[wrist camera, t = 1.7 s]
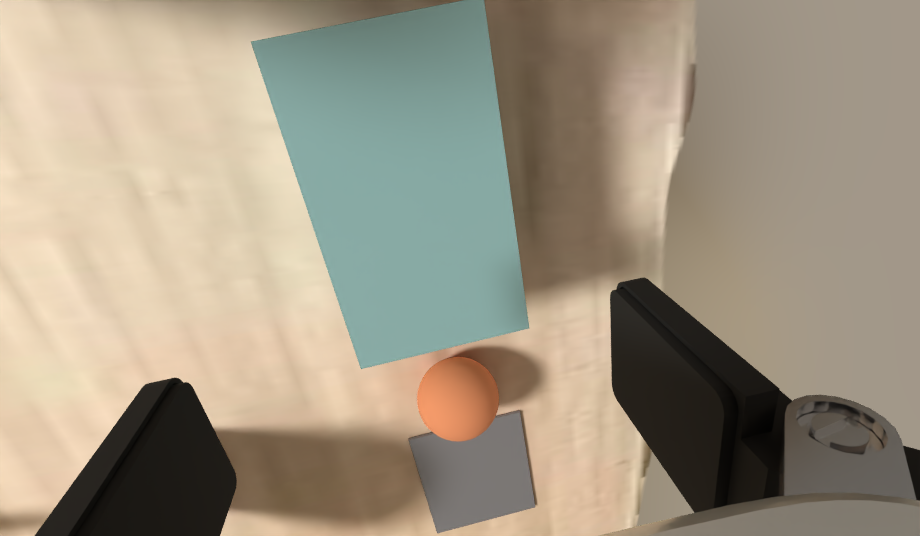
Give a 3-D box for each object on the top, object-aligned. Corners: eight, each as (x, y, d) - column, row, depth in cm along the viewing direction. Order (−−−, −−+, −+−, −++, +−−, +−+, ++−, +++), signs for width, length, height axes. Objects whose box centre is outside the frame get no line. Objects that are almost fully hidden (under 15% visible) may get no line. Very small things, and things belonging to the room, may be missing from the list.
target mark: (408, 438, 33) (408, 440, 33) (519, 410, 33) (519, 412, 33) (437, 530, 37) (437, 533, 37) (534, 504, 38) (535, 507, 37)
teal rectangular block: (292, 46, 22) (250, 41, 15) (451, 15, 23) (483, -4, 16) (366, 290, 28) (361, 369, 21) (492, 260, 28) (529, 328, 21)
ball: (407, 352, 30) (411, 404, 25) (483, 333, 30) (501, 381, 26) (423, 411, 32) (430, 469, 28) (494, 393, 32) (512, 447, 28)
